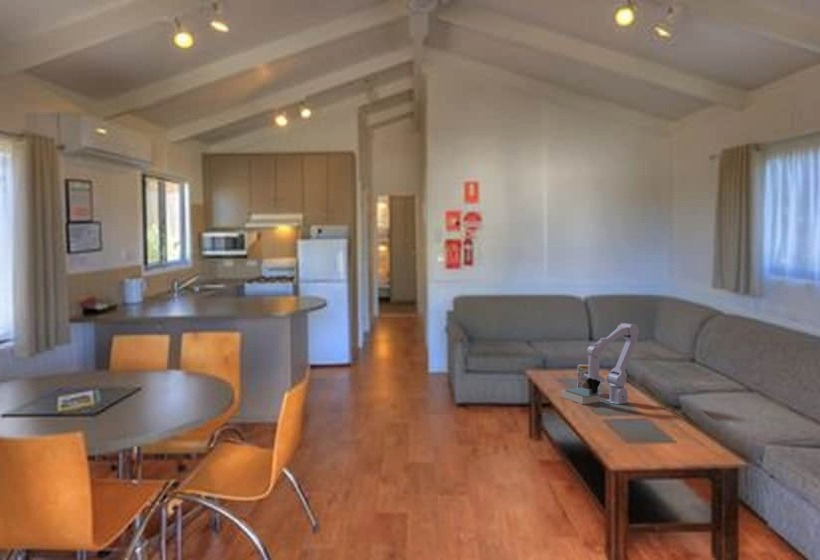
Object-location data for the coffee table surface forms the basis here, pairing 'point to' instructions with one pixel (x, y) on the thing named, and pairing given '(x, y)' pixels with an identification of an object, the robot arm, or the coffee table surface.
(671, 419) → the coffee table surface
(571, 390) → the carton lid
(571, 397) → the carton
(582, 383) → the candy bar box
